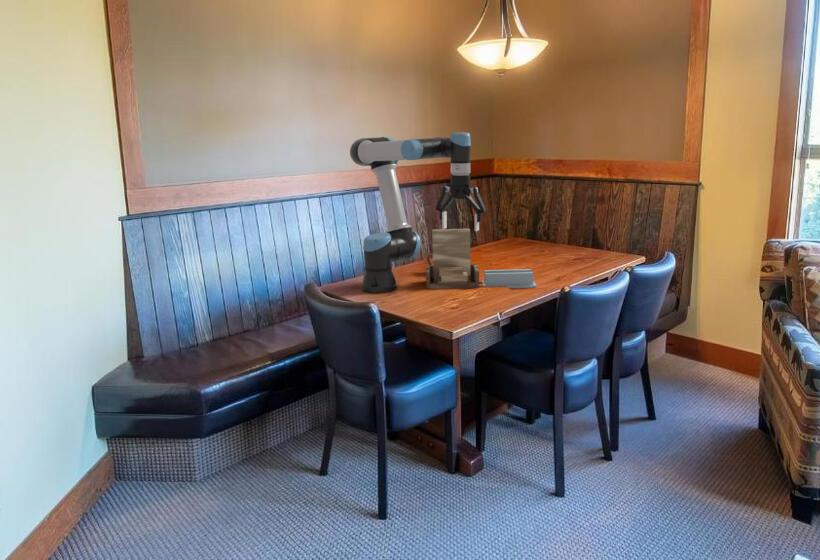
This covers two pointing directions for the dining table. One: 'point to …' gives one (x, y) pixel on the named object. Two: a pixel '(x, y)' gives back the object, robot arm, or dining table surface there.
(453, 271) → the offcut top
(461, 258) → the birch board
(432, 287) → the rack
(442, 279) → the offcut mid
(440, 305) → the dining table surface
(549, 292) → the dining table surface
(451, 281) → the offcut low
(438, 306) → the dining table surface
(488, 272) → the slotted stand
